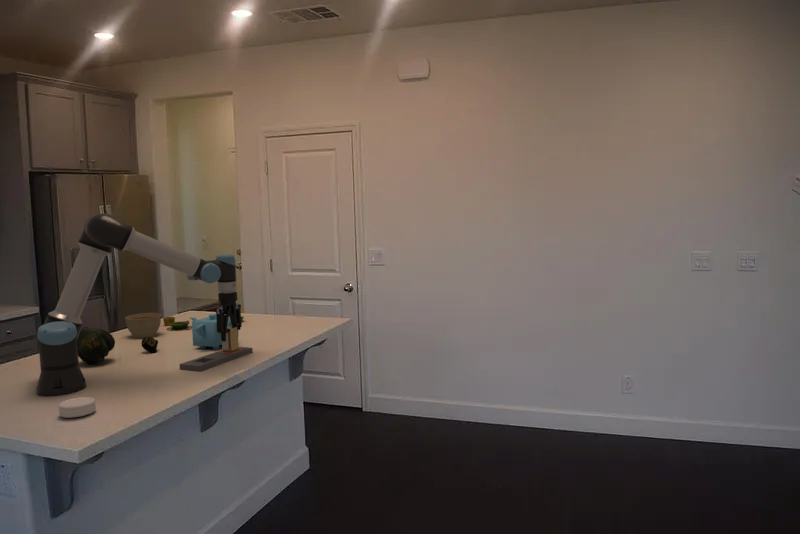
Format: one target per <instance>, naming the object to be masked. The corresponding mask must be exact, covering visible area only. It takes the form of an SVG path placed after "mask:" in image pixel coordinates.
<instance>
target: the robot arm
mask: <svg viewBox="0 0 800 534" xmlns="http://www.w3.org/2000/svg"><path fill="white" fill-rule="evenodd" d="M77 244H78V246H79V252H78V254H77V255H76V258H75V261H74V264H73V266H72V268H71V269H70V270H71V271H70V273H69V275H68V278H67V280H66V282H65V285H64V288H63V290H62V292H61V295H60V297H59V300H58V301H57V305H56V307H55V309H54V310H52V311H50V312H48V314H47V316H46V318H45V320H44V324H41V326H39V327H38V329H37V335H36V337H37V341H38V354H39V365H40V374H39V377H38V381H37V386H36V388H35V389H36V390H35V391H36V395H38V396H39V397H59V396H67V395H70V394H71V395H72V394H74V393H77V392H81V391H83V390H85V389H86V388H87V381H86V379H85V377H84V375H83V372H82V369H81V368H80V362H79V361H80V358H79V356H78V346H77V340H78V336H79V333H80V331H81V329H82V328H81V327H82V324H83V321H82V319H81V316H82V312H83V311H84V308H85V306H86V303H87V301H88V298H89V296H90V294H91V291H92V289H93V287H94V284H95V281H96V279H97V276H98V274H99V272H100V270H101V267H102V264H103V262H104V259H105V258H106V257H107V256H109V255H112V252H113V249H115V250H118V251H120V252H124V251H128V252H131V253H133V254H135V255H138V256H141V257H143V258H146V259H148V260H150V261H153V262H156V263H157V264H161V265H163V266H165V267H167V268H171V269H174V270H176V271H178V272H180V273H182V274H185V275H186V279H187V280H188V281H202V282H204V283H206V284H214V283H217V291H218V293H217V295H218V302H219V303H220V305H219V308H215V309H214V310H215V311H214V312H215V314H216V319H217V332H218V333H221V341H222V345H221V348H222V349H221V350H223V349H229V343H228V333H226V332H227V324H228V317H230V320H231V324H232V327H237V333H238V334H239V331H240V330H241V328H242V322H241V316H242V311H241V309H242V307H241V306H242V305H241V304H240V303H239V304H238V303H236V301H238V292H237V290H238V288H237V264H236V258H235V255H234V254H232V253H231V254H217V255H216V256H215V259H212V260H205V259H203V258H200V257H197V256H195V255H193V254H191V253H189V252H186V251H183V250H181V249H179V248H176V247H174V246H172V245H170V244H167V243H165V242H163V241H160V240H158V239H155V238H154V237H151V236H148V235H146V234H145V233H144V234H143V233H142V232H140V231H137V230H135V228H134V226H132V225H130V224H128V223H126V222H124V221H123V220H120V219H118V218H117V217H116V216H114V215H111V214H110V213H103V212H102V213H96V214H95V213H94V214H93V215H91V216H89V217H88V218H87V219H86V220H85V222H84V224H83V230H82V232H81V234H80V237H79V239H78V242H77Z"/></svg>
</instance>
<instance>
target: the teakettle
mask: <svg viewBox="0 0 800 534" xmlns="http://www.w3.org/2000/svg"><path fill="white" fill-rule="evenodd" d="M189 319H190V320H192V321H191V326H192V329H191V330H192V331H191V334H192V346H194V347H195V346H196V347H199V349H200V350H201V349H202V350H203V349H207V347H211V348H212V350H213V351H214V350H215V351H216V350H218V351H219V350H220V346H222V341H221V333H218V332H217V319H216V313H213V314H212V313H211V314H208V316H207V317H203V318H199V319H197V317H189ZM228 326H230V327H232V324H231V320H230V316H229V317H228V324H227V327H228Z"/></svg>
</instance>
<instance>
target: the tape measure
mask: <svg viewBox="0 0 800 534" xmlns="http://www.w3.org/2000/svg"><path fill="white" fill-rule="evenodd" d="M140 343H141V347H142V348H143V349H144V350H145V351H146V352H149V353H151V354H155V353H156V352H157V349H158V344H159V340H158V339H155V338H154V337H149V336H148V337H145V338H142V340H141V341H140Z"/></svg>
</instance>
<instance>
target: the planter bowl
mask: <svg viewBox="0 0 800 534" xmlns="http://www.w3.org/2000/svg"><path fill="white" fill-rule="evenodd" d="M161 317H162V314H161V313H158V312H145V313H137V314H130V315H128V316H125V318H124V320H125V324H126V327H127V329H128V332H130V334H131V335H132V336H133V338H134V339H142V340H143V339H144V338H145V337H148V336H149V337H152V338H154V337H155V336H156V334H157V332H158V330H159V329H160V327H161V321H162V320H161Z"/></svg>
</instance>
